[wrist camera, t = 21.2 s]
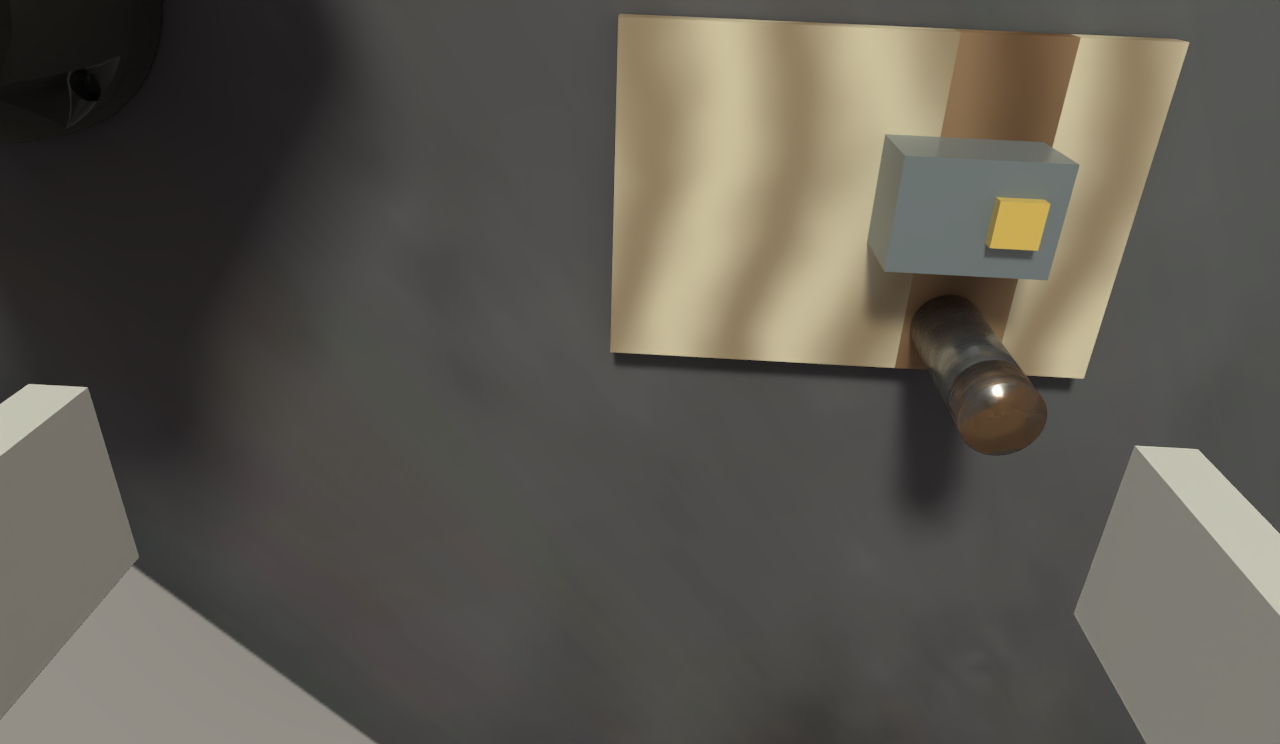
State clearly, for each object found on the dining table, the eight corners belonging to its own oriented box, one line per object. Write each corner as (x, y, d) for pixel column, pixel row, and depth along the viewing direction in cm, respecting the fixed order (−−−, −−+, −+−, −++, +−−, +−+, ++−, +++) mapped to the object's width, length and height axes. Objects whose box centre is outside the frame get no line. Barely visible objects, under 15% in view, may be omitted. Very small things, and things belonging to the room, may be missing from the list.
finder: (867, 241, 41) (886, 276, 37) (885, 134, 38) (908, 159, 34) (1016, 248, 41) (1052, 285, 36) (1043, 142, 38) (1085, 168, 34)
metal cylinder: (904, 355, 43) (951, 452, 35) (916, 292, 42) (969, 380, 34) (972, 359, 43) (1035, 457, 35) (987, 296, 42) (1056, 385, 34)
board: (612, 341, 45) (610, 352, 44) (620, 13, 38) (618, 16, 37) (1074, 367, 45) (1083, 378, 44) (1175, 38, 37) (1189, 42, 36)
